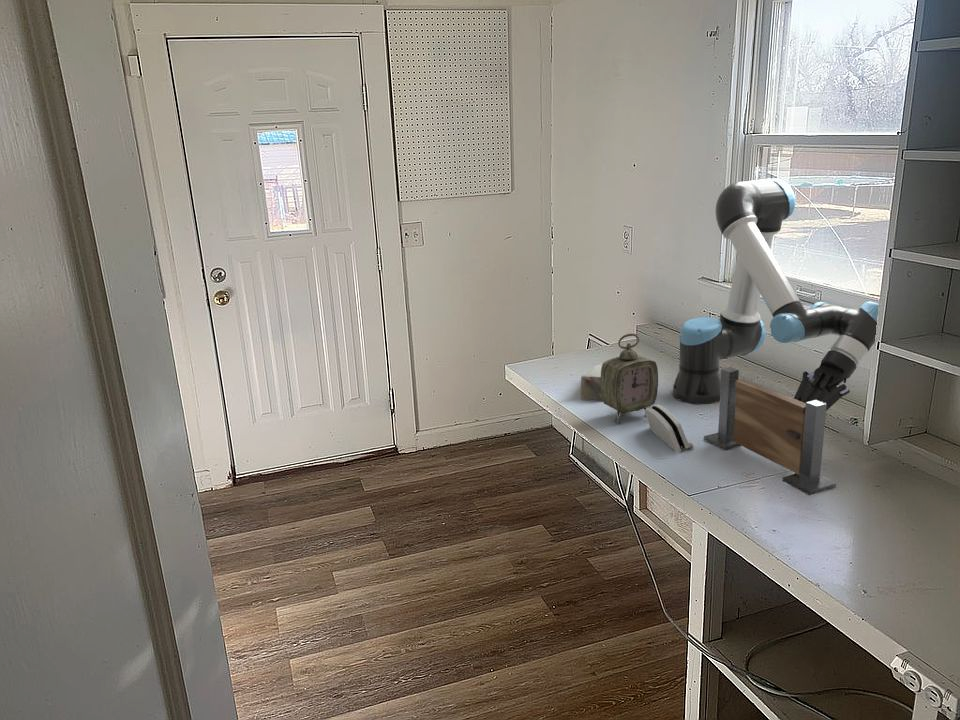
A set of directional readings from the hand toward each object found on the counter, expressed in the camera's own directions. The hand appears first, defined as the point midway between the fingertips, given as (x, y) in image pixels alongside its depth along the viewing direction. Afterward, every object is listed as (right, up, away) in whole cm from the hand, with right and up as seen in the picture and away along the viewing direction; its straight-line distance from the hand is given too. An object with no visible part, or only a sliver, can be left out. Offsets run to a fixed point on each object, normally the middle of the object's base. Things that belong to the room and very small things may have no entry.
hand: (787, 434), depth 183 cm
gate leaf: (-6, -6, 0) cm, 8 cm away
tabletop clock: (-33, +2, +32) cm, 46 cm away
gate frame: (-5, -7, +1) cm, 9 cm away
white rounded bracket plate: (-26, -3, +16) cm, 30 cm away
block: (-37, +8, +55) cm, 67 cm away
